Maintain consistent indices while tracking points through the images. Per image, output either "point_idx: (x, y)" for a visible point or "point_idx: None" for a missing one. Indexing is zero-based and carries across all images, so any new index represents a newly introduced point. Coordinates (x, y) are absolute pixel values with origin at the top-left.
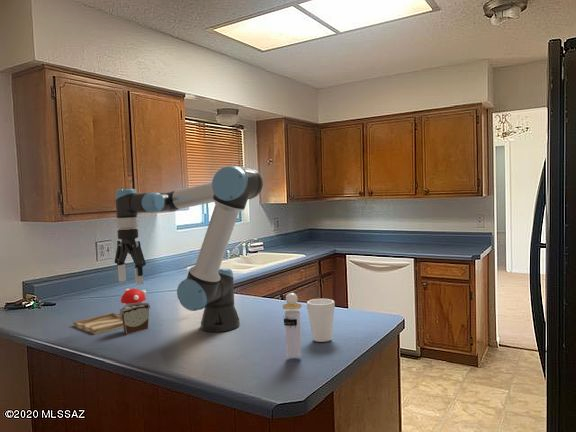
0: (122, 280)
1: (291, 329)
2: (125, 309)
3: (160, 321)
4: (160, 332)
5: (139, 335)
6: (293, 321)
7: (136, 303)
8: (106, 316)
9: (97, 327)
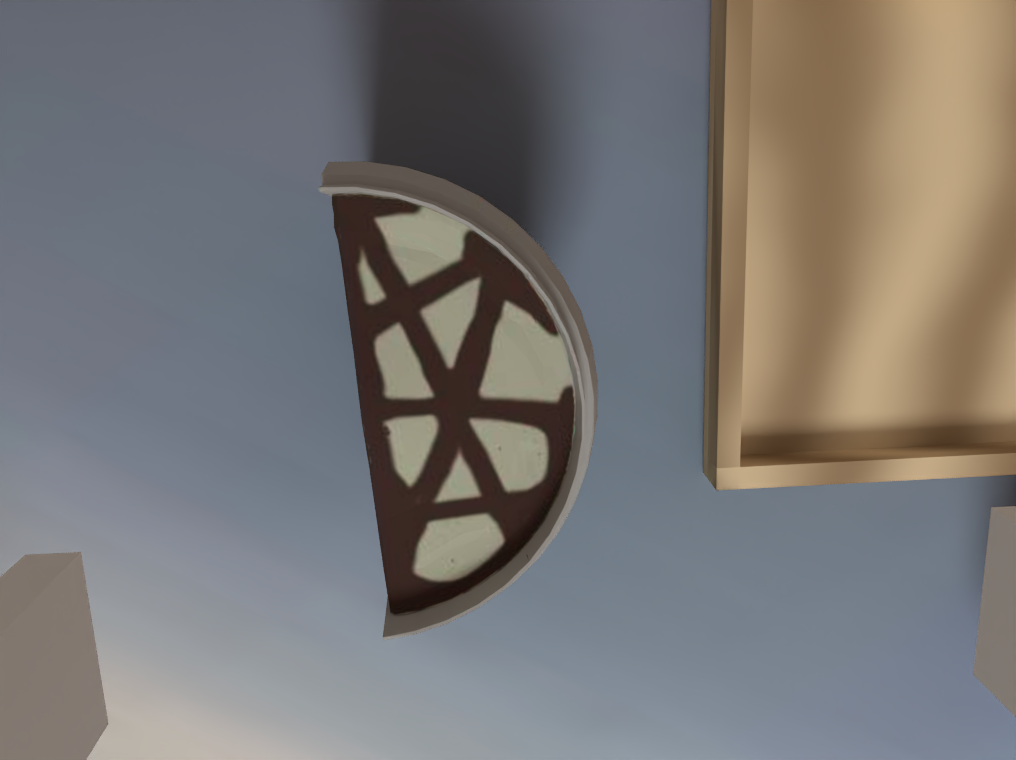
0: (993, 592)
1: None
2: (444, 282)
3: (575, 684)
4: (167, 489)
5: (240, 293)
6: None
7: (556, 523)
8: None
9: (926, 94)
